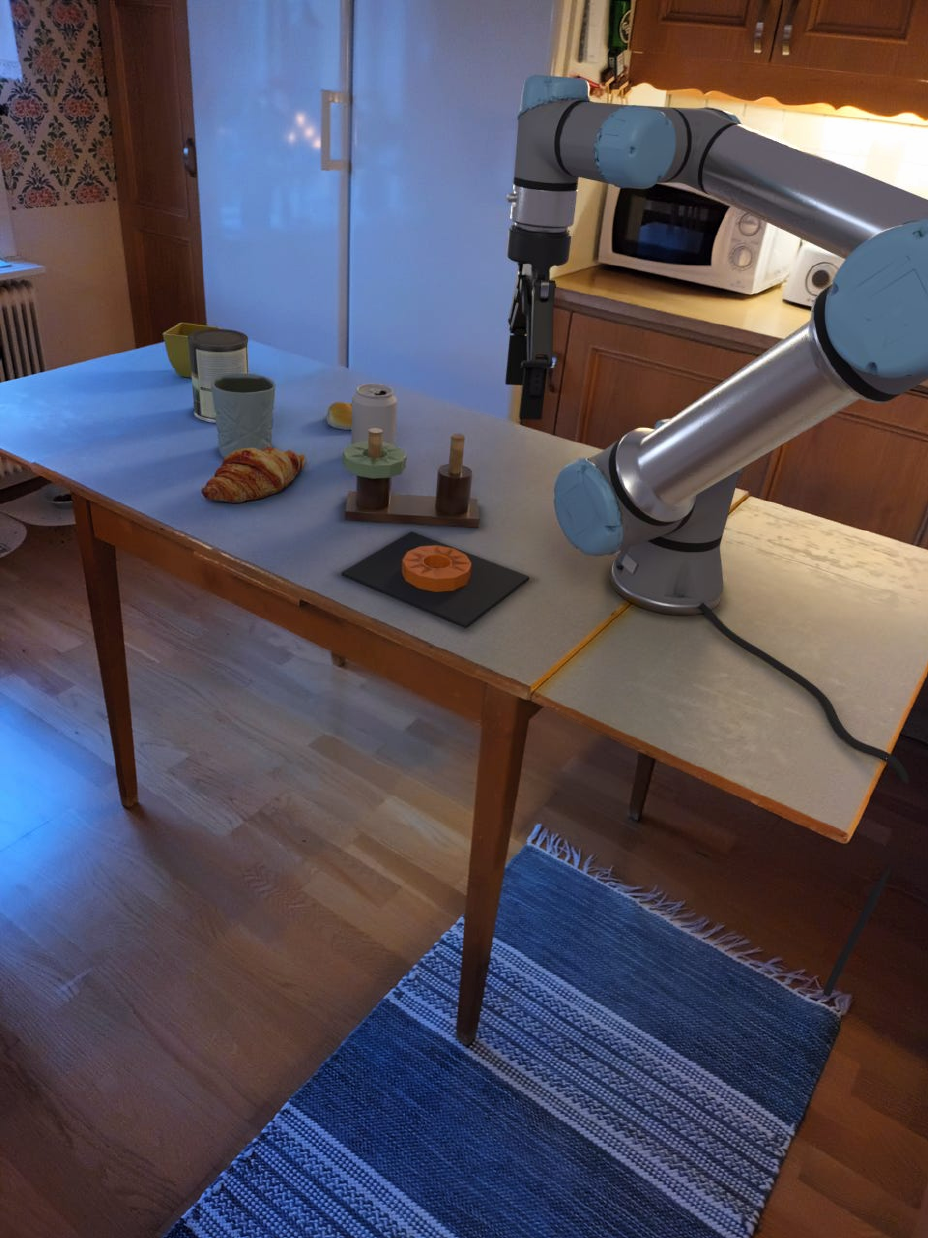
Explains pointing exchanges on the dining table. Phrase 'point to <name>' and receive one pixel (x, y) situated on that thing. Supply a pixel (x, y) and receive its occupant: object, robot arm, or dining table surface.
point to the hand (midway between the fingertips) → (522, 400)
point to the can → (373, 412)
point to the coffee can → (214, 364)
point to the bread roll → (340, 415)
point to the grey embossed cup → (243, 411)
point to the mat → (455, 606)
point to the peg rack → (413, 509)
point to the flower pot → (181, 346)
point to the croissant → (253, 474)
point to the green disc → (374, 461)
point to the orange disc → (424, 564)
